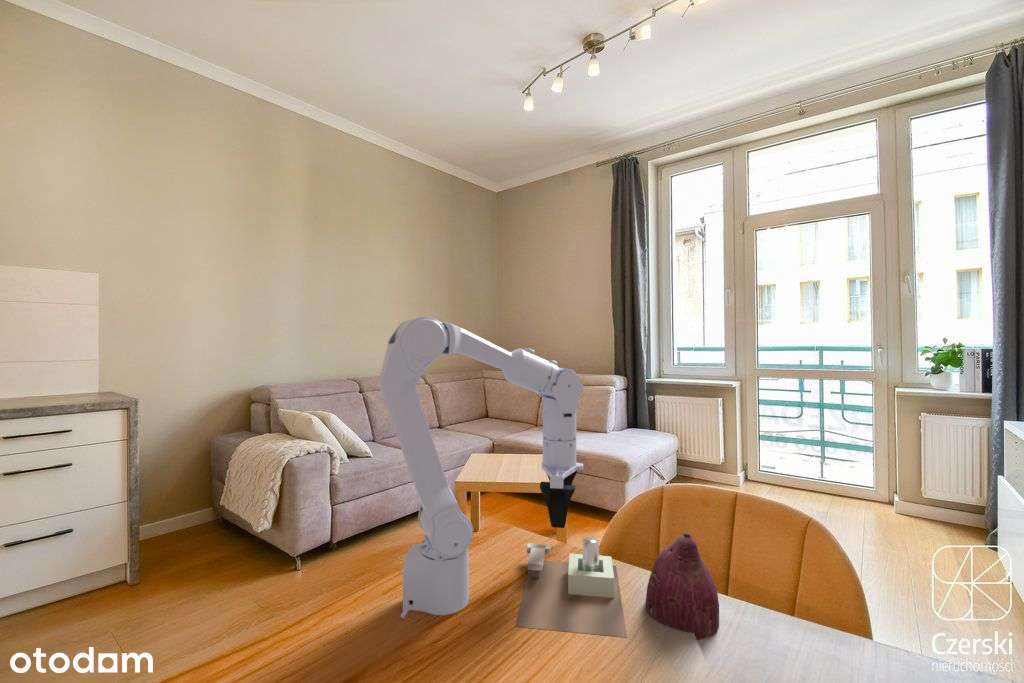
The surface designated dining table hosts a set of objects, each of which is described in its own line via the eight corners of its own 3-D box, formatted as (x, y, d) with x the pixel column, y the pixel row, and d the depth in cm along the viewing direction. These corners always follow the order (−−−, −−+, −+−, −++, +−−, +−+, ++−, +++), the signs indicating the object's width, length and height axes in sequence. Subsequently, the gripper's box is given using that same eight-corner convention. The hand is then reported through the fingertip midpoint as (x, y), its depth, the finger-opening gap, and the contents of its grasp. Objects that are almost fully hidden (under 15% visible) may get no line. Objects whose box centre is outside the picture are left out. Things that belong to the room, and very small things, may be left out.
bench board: (511, 633, 61) (511, 604, 61) (528, 564, 79) (528, 542, 79) (627, 645, 58) (626, 614, 58) (616, 571, 77) (615, 548, 77)
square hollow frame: (568, 594, 68) (568, 574, 68) (569, 570, 75) (569, 553, 75) (614, 597, 67) (614, 578, 67) (611, 574, 74) (611, 556, 74)
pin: (583, 587, 70) (583, 543, 70) (581, 579, 72) (581, 536, 73) (600, 588, 70) (600, 544, 70) (597, 579, 72) (597, 537, 72)
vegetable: (724, 665, 59) (749, 573, 55) (645, 644, 61) (662, 554, 57) (708, 602, 69) (728, 520, 65) (640, 586, 71) (655, 506, 67)
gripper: (582, 448, 67) (582, 537, 67) (583, 430, 81) (583, 503, 81) (536, 446, 68) (536, 534, 68) (545, 429, 83) (545, 501, 82)
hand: (559, 517), depth 75 cm, fingers open, 7 cm apart
